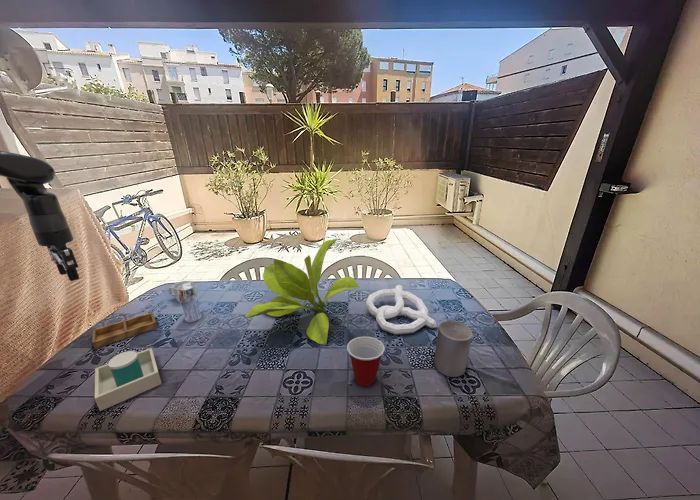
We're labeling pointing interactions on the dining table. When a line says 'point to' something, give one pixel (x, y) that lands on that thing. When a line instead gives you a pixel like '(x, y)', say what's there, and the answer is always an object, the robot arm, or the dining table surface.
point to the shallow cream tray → (112, 394)
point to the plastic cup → (365, 358)
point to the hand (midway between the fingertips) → (69, 276)
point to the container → (125, 367)
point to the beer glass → (189, 301)
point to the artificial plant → (301, 291)
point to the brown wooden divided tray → (123, 330)
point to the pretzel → (399, 311)
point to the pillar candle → (452, 348)
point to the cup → (176, 289)
